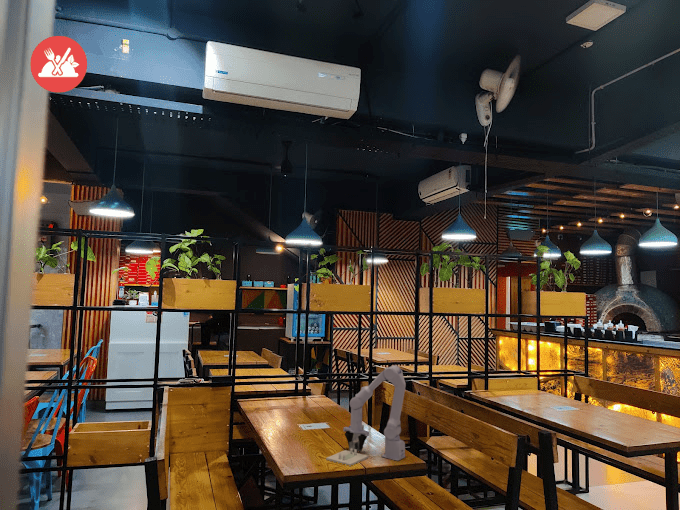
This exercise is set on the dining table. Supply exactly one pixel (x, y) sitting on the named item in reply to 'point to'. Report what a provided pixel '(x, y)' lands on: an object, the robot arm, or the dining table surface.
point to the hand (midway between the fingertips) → (355, 448)
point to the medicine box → (355, 436)
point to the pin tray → (347, 457)
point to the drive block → (354, 445)
